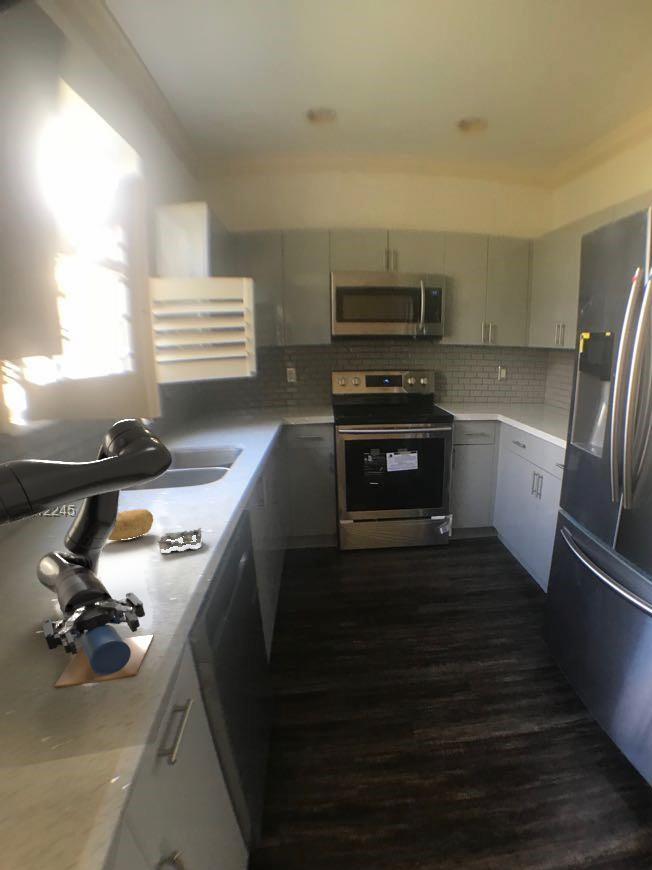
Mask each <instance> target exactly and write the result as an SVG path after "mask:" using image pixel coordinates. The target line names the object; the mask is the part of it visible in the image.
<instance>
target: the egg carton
mask: <svg viewBox="0 0 652 870" xmlns="http://www.w3.org/2000/svg"><path fill="white" fill-rule="evenodd" d="M193 535H196V539H197V540H196V542H191V541H193V540H192V536H193ZM183 536H184V537H183ZM180 537H182V538H183V542H184V543H182V544H181V543H179V542H178V541H175V542H171V541H166V540H167V539H171V540H175V539H178V538H180ZM201 537H202V527H199V528H197V529H193V530H189V531H188V530H184V531H178V532H167V533H164V534H163V535H161V536H160V538H159V540H157V544H158V547H159V550H160V549H164V550H166V549H169V548H170V547H173V546H178V547H182V546H183V545H186V544H191V545H196V544H197V543H200V542H201ZM202 538H203V537H202ZM201 543H202V542H201Z"/></svg>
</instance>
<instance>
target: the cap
mask: <svg viewBox="0 0 652 870" xmlns="http://www.w3.org/2000/svg"><path fill="white" fill-rule="evenodd" d="M122 639H123V638H122V636H121V635H120V633H119V632H118V630H117V629H116V628H115V627H114V626H112V625H110V624H108V623H107V624H105V625H101V626H97V627H95V628H93V629H91V630H88V631H86V632H85V633H84V634H83V635H82V639H81V645H82V647H83V649H84V651H85V653H86V655H87V657H88V659H89V663H90V666H91V668H92V670H93V671H94V672H96V673H98V674H101V675H109V674H113V673H115V672H118V671H119V670H121V669H122V668H123V667H124V666H125V665H126V664H127V663H128V661H129V659H130V656H131V650H130V647H129V646H128V644H127V643H125V642H124V641H123V640H122Z"/></svg>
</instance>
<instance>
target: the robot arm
mask: <svg viewBox="0 0 652 870" xmlns="http://www.w3.org/2000/svg"><path fill="white" fill-rule="evenodd" d="M97 452H98V453H97V456H96V459H95V460H94V461H87V462H65V461H57V460H43V459H17V460H11V461H7V462H3V463H0V527H3V526H8V525H10V524H13V523H17V522H19V521H22V520H25V519H28V518H32V517H35V516H36V515H39V514H42V513H45V512H47V511H50V510H53V509H56V508H59V507H62V506H66V505H69V504H72V503H76V502H79V501H81V500H82V502H81V505H80V507H79V509H78V511H77V513H76V515H75V517H74V518H73V520H72V522H71V524H70V526H69V528H68V529H67V531H66V533H65V535H64V537H63V545H64V547H65V548H66V550H68V551H62V550H51V551H49V552H46V553H45V554H44V555H43V556H41V557H40V559H39V560H38V562H37V565H36V576H37V580H38V581H39V582H40V584H41V585H42V586H43V587H44V588H46V589H48V590H49V591H50V592H52V593H54V594H56V597H57V602H58V605H59V609H60V610H61V612H62V615H63V617H62V619H60V620H57V621H52V619H50V618H48V619H45V620H43V621H42V628H43V629H42V630H43V633H44V634H43V635H44V639H45V642H46V645H47V649H48V650H51V651H52V650H55V649H57V648H58V647H59V646H62V647H63V651H64V652H65V654H71V655H72V656H75V654H77V653H78V652H77V651H78V649H77V647H76V643H75V641H76V640H79V639H81V637H83V636H84V634H85V633H86V632H87V631H88V630H91V629H93V628H95V627H97V626H101V625H105V624H107V625H108V624H113V625H120V624H122V623H126V625H127V626H128V628H129V629H130V631H131V632H132V633H135V632H137V631H138V628H140V627H141V624H140V620H139V618H143V617H145V616H146V612H145V608H144V603H143V602H142V600H140V598H139V597H138V596H137V595H136V594H135V593H133V592H127V593H126V594H125V597H124V598H123V599H120V600H118V599H114V598H113V597H112V596H111V594H110V593H109V591H108V589H107V588H106V587H105V585H104V583H103V582H102V581H101V580H100V579H99V578H98V572H99V564H100V559H101V555H102V552H103V549H104V546H105V545H106V544H107V541H108V540H109V539H108V538H109V536H110V534H111V533H112V531H113V529H114V527H115V524H116V521H117V517H118V512H119V509H120V508H119V507H120V496H121V490H123V489H128V488H132V487H137V486H140V485H144V484H147V483H149V482H152V481H154V480H157V479H158V478H160V477H162V476H163V475H164V474H165V473H167V472H168V470H169V469H170V468H171V466H172V463H173V456H172V453H171V452H170V450H169V449H168V448H167V447H166V446H165V444H164V443H163V442H162V440H160V439H159V437H157V435H156V434H155V433H154V432H153V431H152V430H151V429H150V428H149V427H148V426H147V425H146V424H145V423H144V422H141V421H140V420H137V419H131V418H130V419H124V420H119V421H118V422H116V423H114V424H113V425H111V426H110V427H109V429H108V430H107V431H106V432H105V434H104V436H103V437H102V441H101V443H100V446H99V449H98V451H97Z"/></svg>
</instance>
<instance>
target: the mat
mask: <svg viewBox="0 0 652 870" xmlns="http://www.w3.org/2000/svg"><path fill="white" fill-rule="evenodd" d="M154 637H155V635H154V634H148V635H139V636H133V637H126V638H125V637H124V638H122V640H123V641H124V642H125V643H127V644H128V646H129V647H130V650H131V656H130V659H129V661H128V663H127V664H126V665H125V666H124V667H123V668H122V669H121V670H119V671H118V672H115V673H113V674H109V675H101V674H98V673H96V672H94V671H93V670H92V668H91V666H90V663H89V659H88V657H87V655H86V653H85V651H84V649H83V647H82V644H81V645H80V647H79V648H78V649H77V652H78V653H77V654H74V655H73V657H72V659H71V660H70V662H69V663H68V665H67V666H66V667H65V669H64V670H63V672H62V674H61V675H60V676H59V678H58V680H57V681H56V683H55V684H54V689H57V688H64V687H70V686H74V685H75V686H76V685H77V686H78V685H83V684H89V683H97V682H104V681H110V680H116V679H122V678H130V677H136V676H137V675H138V673H139V671H140V668H141V666H142V664H143V662H144V660H145V657H146V655H147V653H148V650H149V649H150V646H151V644H152V641H153V639H154Z"/></svg>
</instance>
